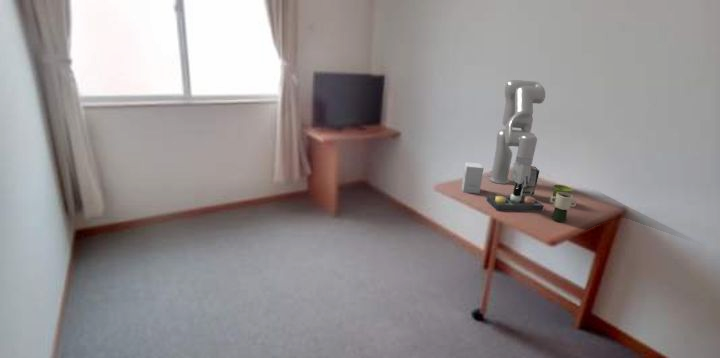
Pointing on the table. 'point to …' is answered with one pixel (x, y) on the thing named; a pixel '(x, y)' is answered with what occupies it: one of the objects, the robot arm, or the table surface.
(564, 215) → the character mug
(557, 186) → the plant pot
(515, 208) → the panel
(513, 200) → the sage button
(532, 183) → the coffee box
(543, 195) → the table surface
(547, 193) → the table surface
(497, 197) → the mustard button
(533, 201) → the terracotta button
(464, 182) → the supplement box
